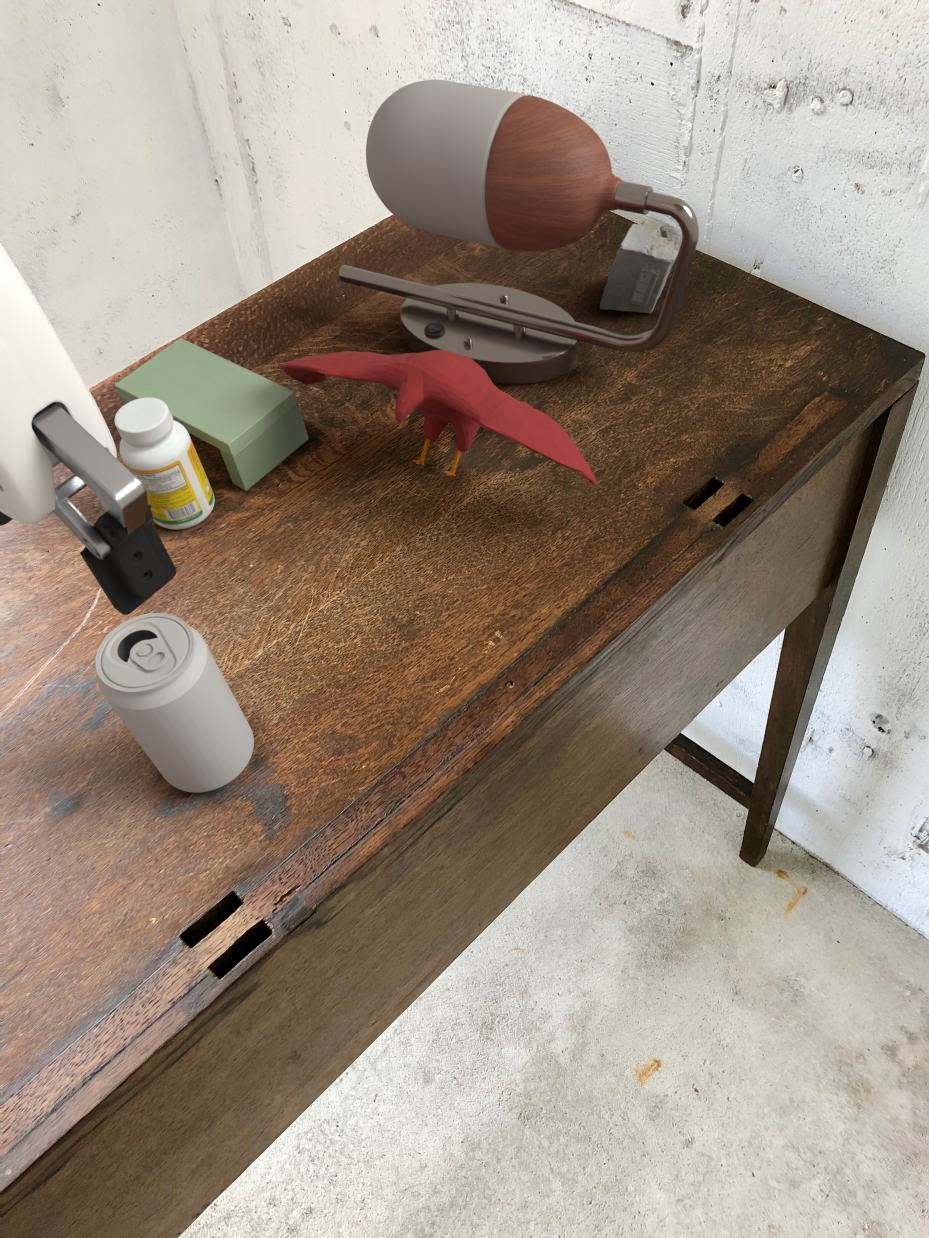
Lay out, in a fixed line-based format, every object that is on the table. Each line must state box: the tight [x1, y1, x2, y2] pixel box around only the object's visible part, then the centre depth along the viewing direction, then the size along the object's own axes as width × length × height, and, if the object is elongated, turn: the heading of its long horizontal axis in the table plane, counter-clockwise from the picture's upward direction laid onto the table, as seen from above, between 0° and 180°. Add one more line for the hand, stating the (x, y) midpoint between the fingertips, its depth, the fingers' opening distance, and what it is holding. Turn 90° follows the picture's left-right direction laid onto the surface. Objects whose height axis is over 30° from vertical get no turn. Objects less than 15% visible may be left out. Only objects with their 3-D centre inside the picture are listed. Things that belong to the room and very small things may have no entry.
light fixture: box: [338, 79, 700, 385], centre depth 79 cm, size 11×22×34 cm
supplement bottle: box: [113, 398, 216, 531], centre depth 74 cm, size 5×5×10 cm
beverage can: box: [94, 612, 255, 793], centre depth 59 cm, size 6×6×12 cm
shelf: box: [113, 337, 310, 492], centre depth 81 cm, size 14×8×5 cm, turn 54°
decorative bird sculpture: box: [278, 350, 599, 487], centre depth 76 cm, size 28×9×15 cm
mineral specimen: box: [599, 215, 682, 314], centre depth 87 cm, size 7×9×8 cm
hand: (82, 548), depth 45 cm, fingers open, 9 cm apart
